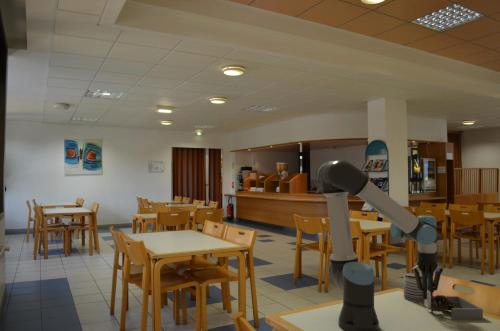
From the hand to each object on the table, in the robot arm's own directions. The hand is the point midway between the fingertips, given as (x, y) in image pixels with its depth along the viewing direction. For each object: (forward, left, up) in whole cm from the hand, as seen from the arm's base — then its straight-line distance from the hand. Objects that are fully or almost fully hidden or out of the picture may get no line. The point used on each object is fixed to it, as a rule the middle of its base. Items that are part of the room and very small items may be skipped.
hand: (427, 306), depth 170 cm
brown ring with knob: (+6, -1, -2) cm, 6 cm away
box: (+12, 0, -2) cm, 12 cm away
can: (+3, +18, -2) cm, 18 cm away
